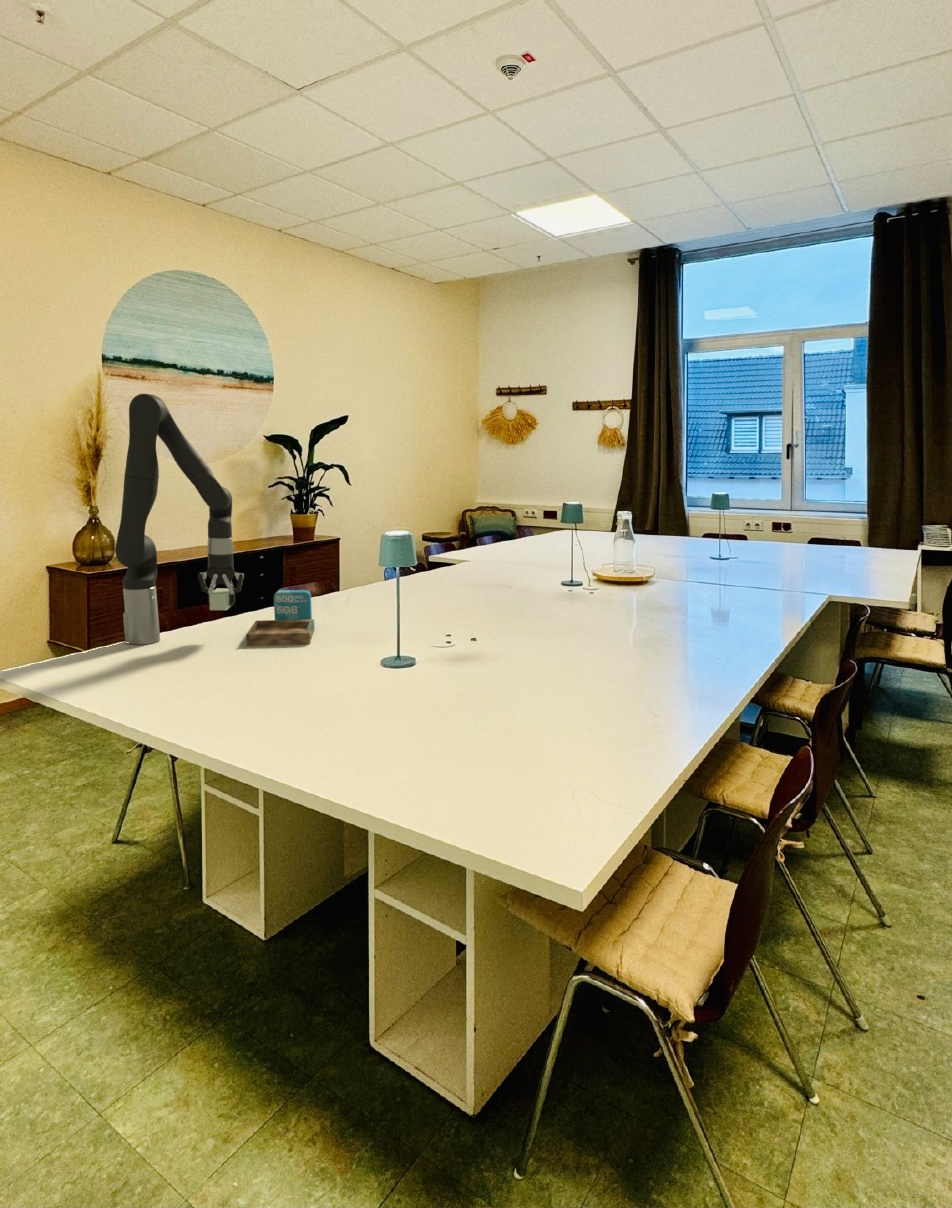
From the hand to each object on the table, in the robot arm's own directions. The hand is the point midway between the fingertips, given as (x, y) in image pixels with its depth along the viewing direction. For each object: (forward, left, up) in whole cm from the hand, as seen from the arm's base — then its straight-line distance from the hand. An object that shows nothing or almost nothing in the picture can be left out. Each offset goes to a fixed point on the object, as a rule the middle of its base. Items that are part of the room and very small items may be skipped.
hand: (222, 605), depth 229 cm
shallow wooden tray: (+18, +1, -11) cm, 21 cm away
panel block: (0, 0, -1) cm, 1 cm away
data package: (+20, +18, -11) cm, 29 cm away
